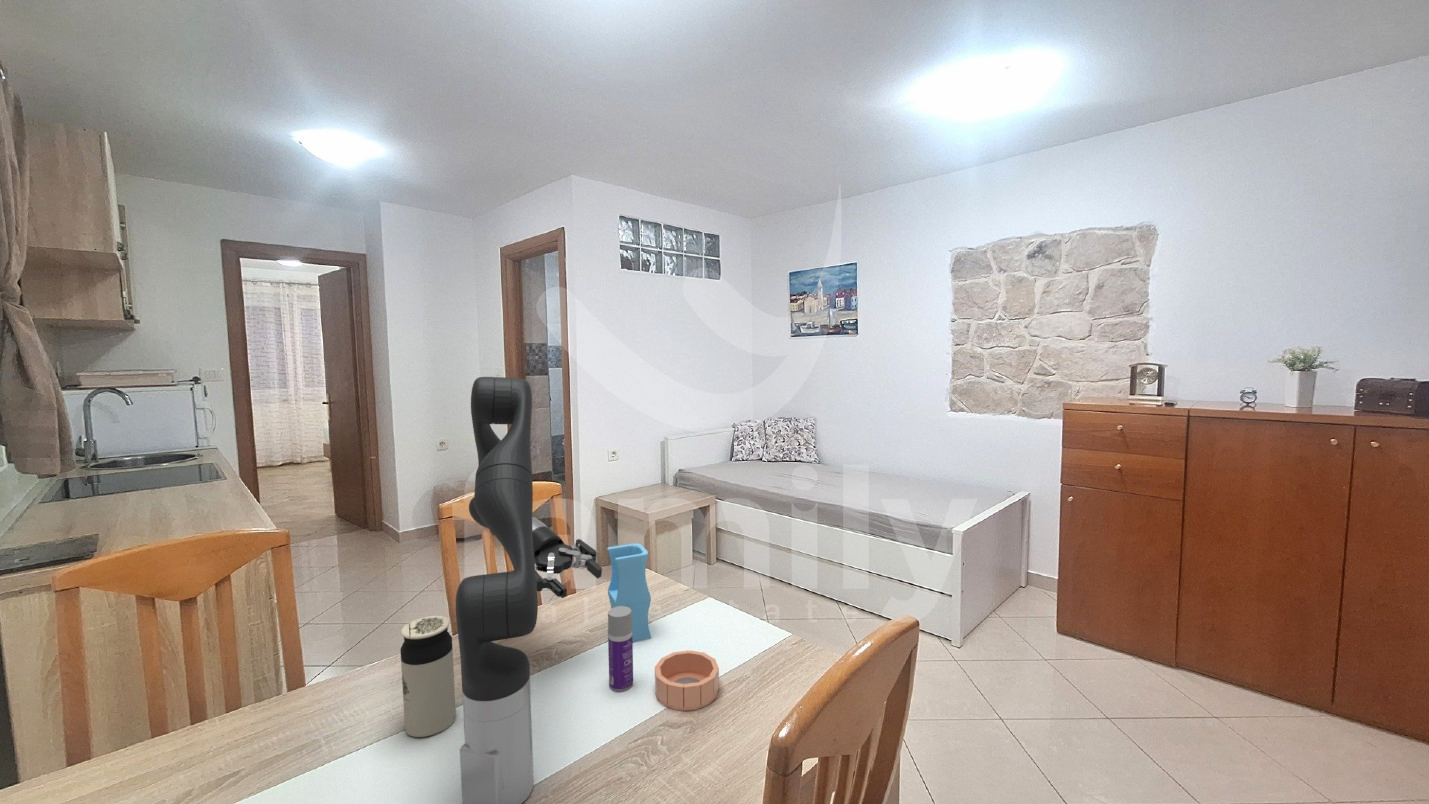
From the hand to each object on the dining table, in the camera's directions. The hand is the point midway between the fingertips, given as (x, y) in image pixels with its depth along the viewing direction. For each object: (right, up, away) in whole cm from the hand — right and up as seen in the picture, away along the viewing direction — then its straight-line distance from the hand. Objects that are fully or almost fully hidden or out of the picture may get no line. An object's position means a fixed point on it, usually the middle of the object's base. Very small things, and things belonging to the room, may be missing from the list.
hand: (583, 583), depth 108 cm
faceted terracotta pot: (+21, -20, -3) cm, 29 cm away
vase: (+6, -18, +19) cm, 27 cm away
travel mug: (-24, -21, -12) cm, 34 cm away
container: (+8, -20, -1) cm, 21 cm away
